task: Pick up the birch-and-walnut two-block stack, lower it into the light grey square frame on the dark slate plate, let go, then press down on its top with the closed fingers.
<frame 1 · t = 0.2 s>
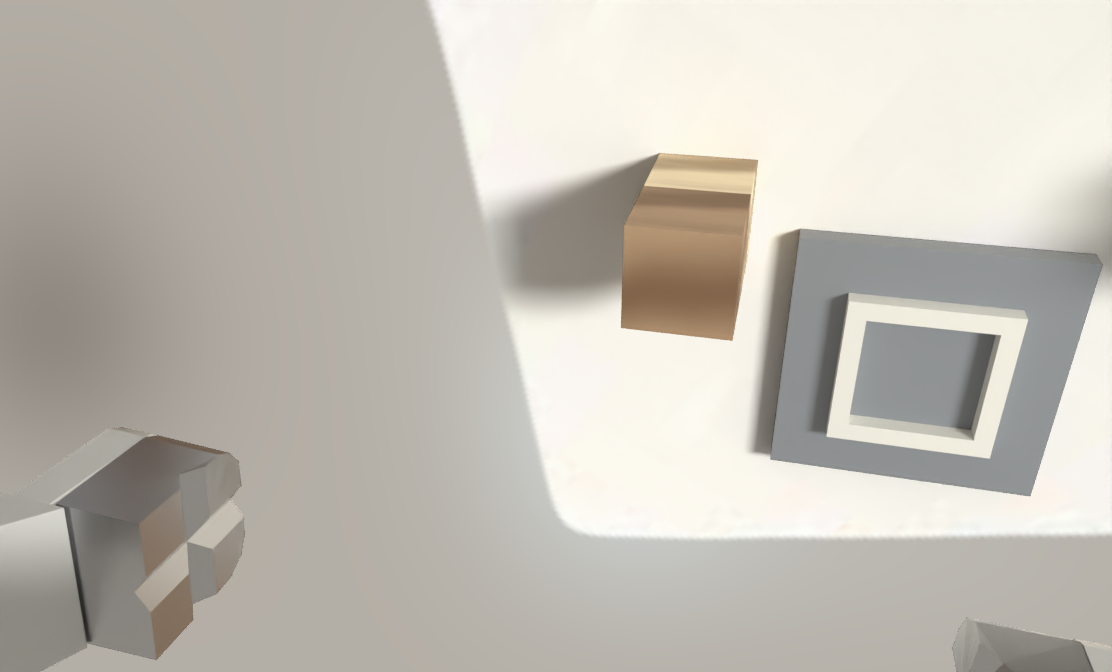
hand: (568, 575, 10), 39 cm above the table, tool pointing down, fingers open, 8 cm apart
block stack: (704, 202, 48), on the table
slate plate: (917, 360, 49), on the table
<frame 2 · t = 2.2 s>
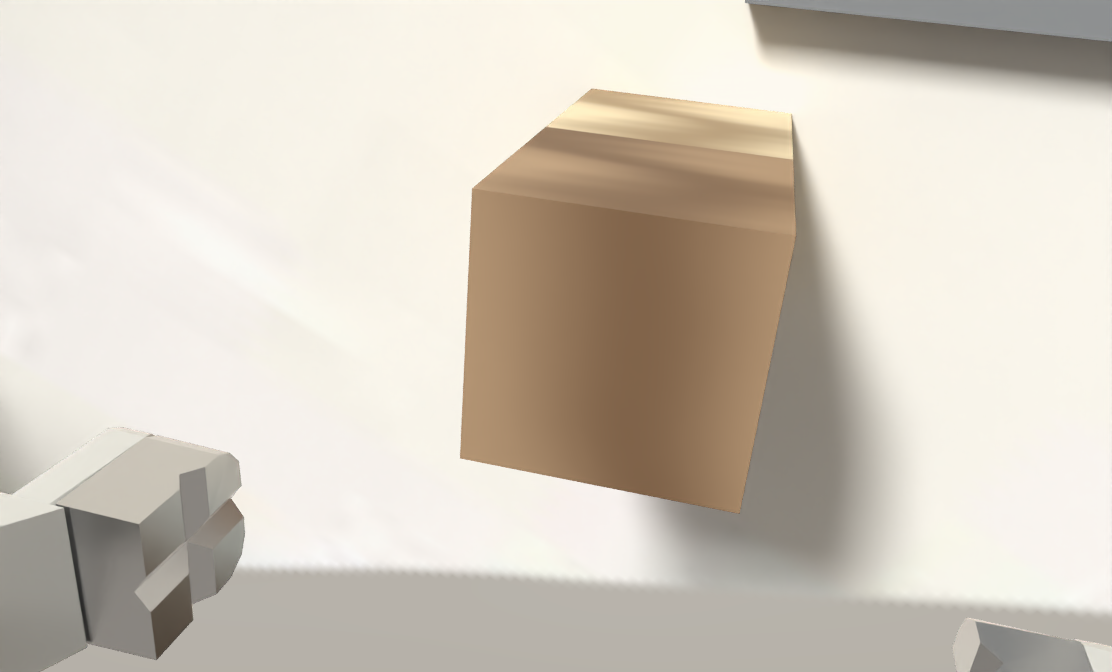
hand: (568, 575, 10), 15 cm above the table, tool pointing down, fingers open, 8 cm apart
block stack: (675, 197, 24), on the table
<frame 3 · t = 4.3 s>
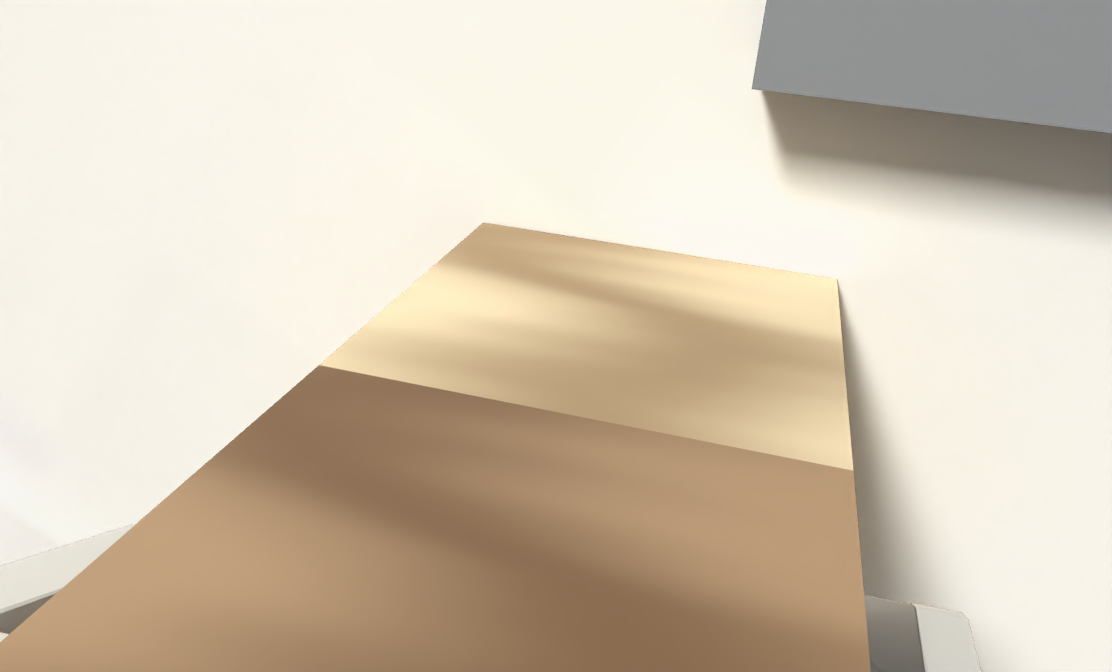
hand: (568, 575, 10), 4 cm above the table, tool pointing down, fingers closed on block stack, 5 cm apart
block stack: (632, 406, 14), on the table, touching gripper
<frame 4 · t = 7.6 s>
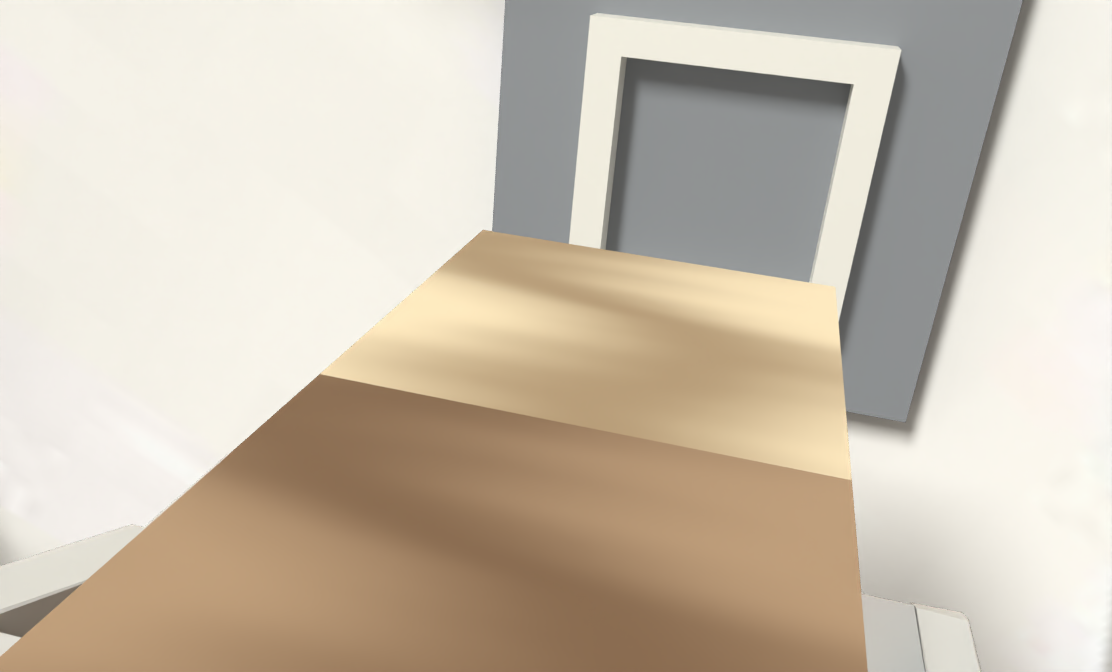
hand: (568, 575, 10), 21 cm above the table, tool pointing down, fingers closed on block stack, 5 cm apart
block stack: (631, 413, 14), point 17 cm above the table, touching gripper
slate plate: (722, 166, 29), on the table
when the fingers open (6 cm above the table, at t = 11.0 s): block stack stays where it is, resting on slate plate.
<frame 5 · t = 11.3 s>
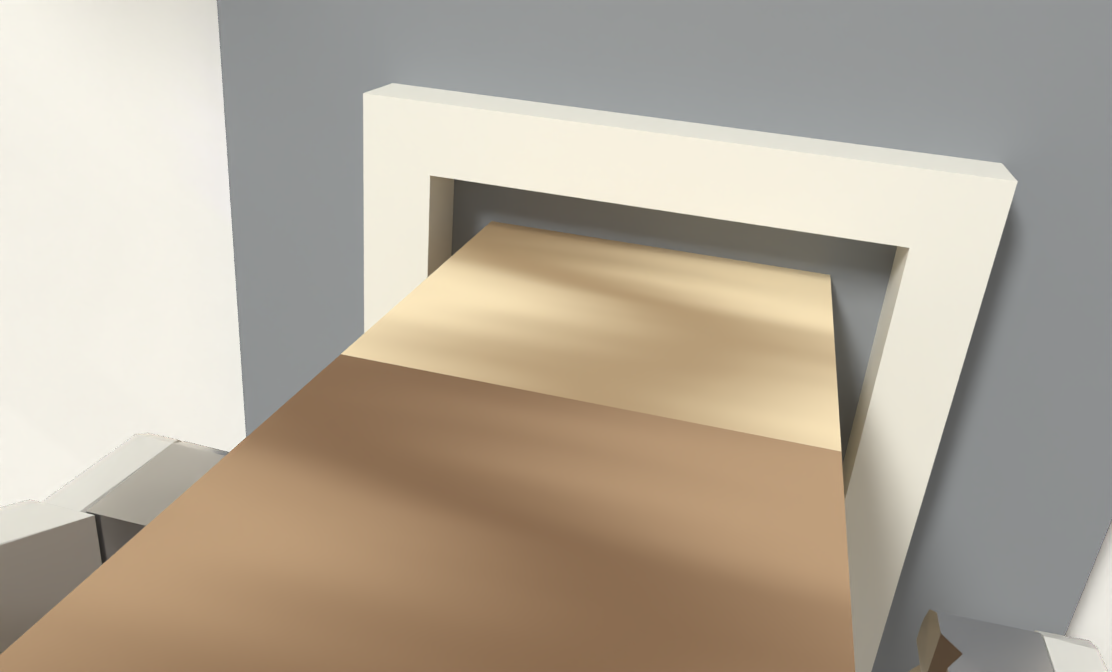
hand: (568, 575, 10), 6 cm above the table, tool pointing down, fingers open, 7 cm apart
block stack: (634, 397, 14), point 1 cm above the table, touching slate plate
slate plate: (652, 359, 15), on the table
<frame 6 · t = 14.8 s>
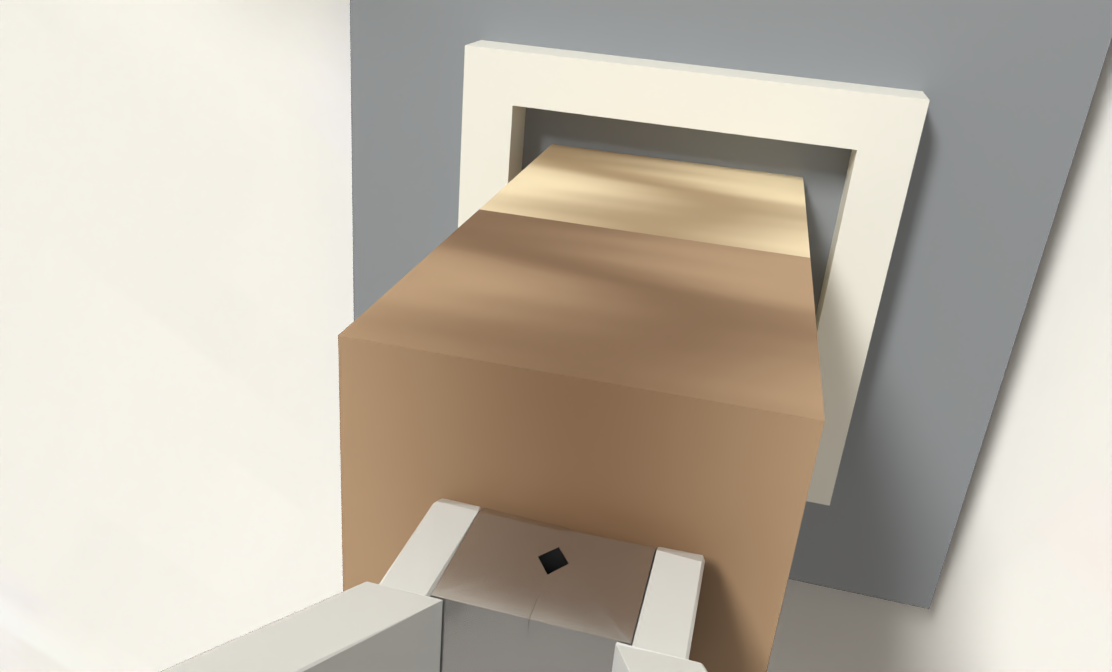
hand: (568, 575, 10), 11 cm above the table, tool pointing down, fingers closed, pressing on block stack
block stack: (658, 277, 19), point 1 cm above the table, touching gripper, slate plate
slate plate: (670, 253, 20), on the table
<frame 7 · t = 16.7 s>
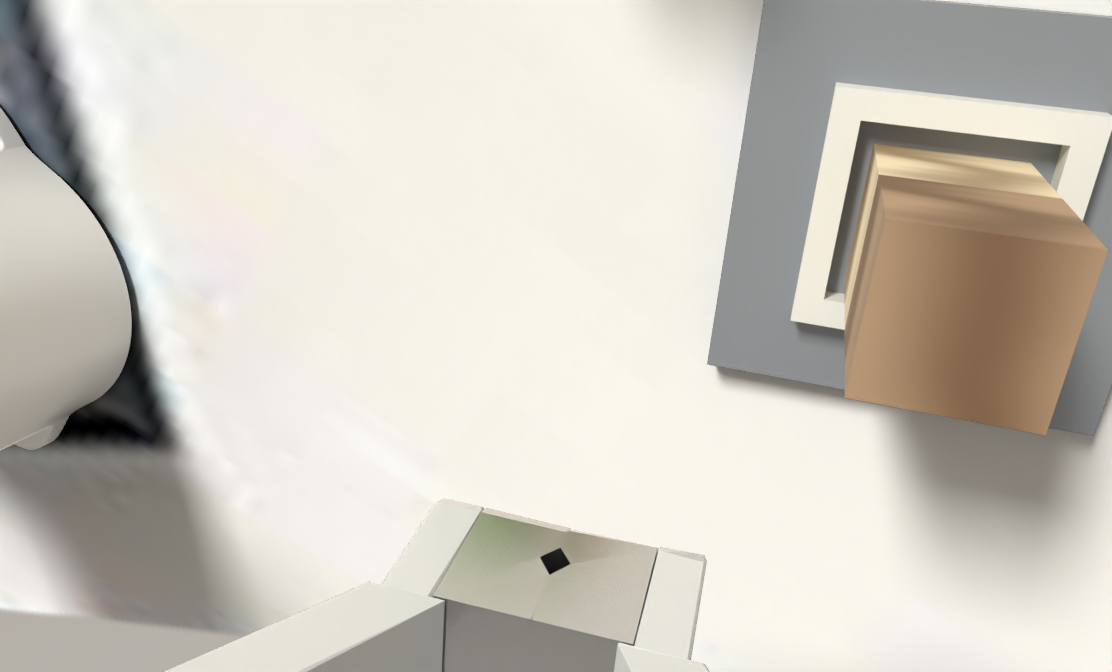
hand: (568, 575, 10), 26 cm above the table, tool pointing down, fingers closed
block stack: (932, 223, 32), point 1 cm above the table, touching slate plate
slate plate: (933, 211, 33), on the table
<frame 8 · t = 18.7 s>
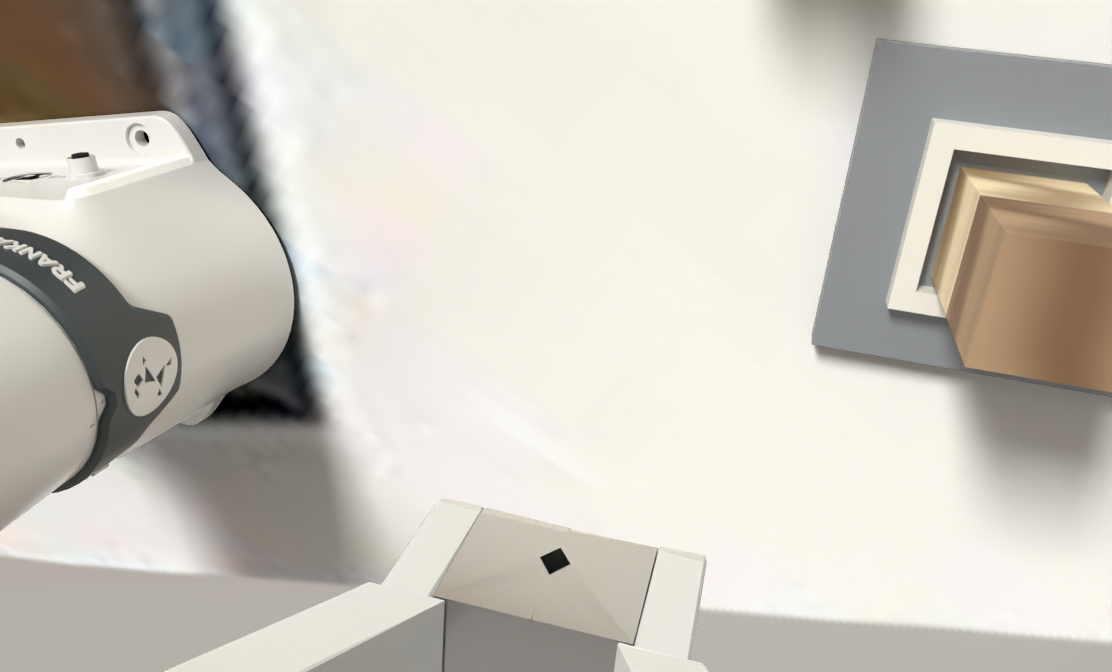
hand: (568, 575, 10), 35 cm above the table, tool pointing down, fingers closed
block stack: (1005, 230, 40), point 1 cm above the table, touching slate plate
slate plate: (1003, 220, 41), on the table
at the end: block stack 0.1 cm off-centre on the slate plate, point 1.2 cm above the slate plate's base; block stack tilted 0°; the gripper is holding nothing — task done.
